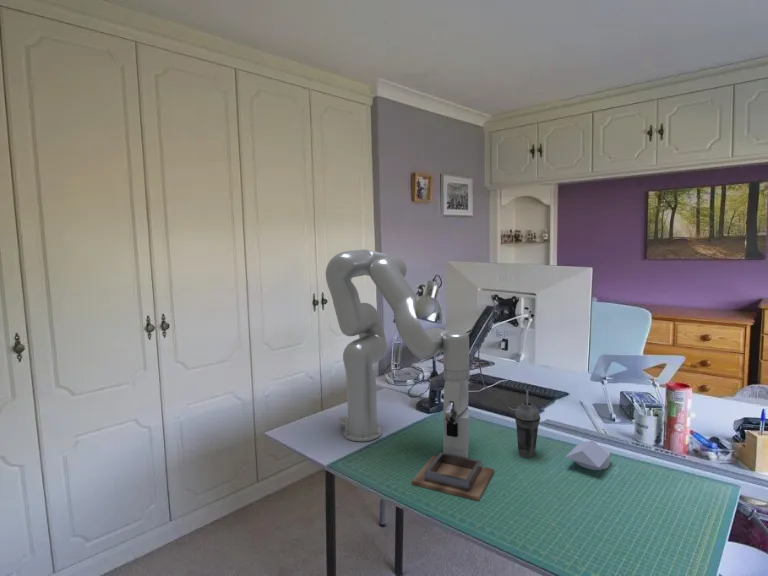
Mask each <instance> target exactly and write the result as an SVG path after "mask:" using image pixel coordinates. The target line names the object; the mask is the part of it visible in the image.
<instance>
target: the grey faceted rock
mask: <svg viewBox="0 0 768 576" xmlns="http://www.w3.org/2000/svg"><path fill="white" fill-rule="evenodd" d="M610 457H611V454H610V451H609V450H608V449H607V448H605V447H604V446H601V445H599V443H597V442H596V441H595V440H594V439H590V440H589V441H586V442H583V443H579V444H576V445H575V446H574V447H573V448H572V450H570V452H569V453H567V454H566V456H565V459H569V460H572V461H574V462H575V463H576V464H577V465H579V466H580V467H583V468H585V469H588V470H593V471H603V470H602V469H604V470H606V468H607V469H608V468H609V467H610V460H611V459H610ZM608 466H609V467H608Z"/></svg>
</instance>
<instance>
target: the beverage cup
mask: <svg viewBox="0 0 768 576" xmlns="http://www.w3.org/2000/svg"><path fill="white" fill-rule="evenodd" d="M525 392H526V397H525V398H526V399H525V401H526V402H523V403H520V404H519V405H518V406H517V407H516V408H515V412H514V418H515V419H514V420H515V424H516V437H517V450H518V455H519V456H520V457H523V458H527V459H528V458H529V459H530V458H534V457H535V454H536V447H537V439H538V438H537V437H538V431H539V426H540V420H541V416H540V415H541V414H540V411H539V409H538V408H537V406H536V405H535V404H533V403H531V402H529V389H526V391H525Z"/></svg>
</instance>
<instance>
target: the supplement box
mask: <svg viewBox="0 0 768 576" xmlns="http://www.w3.org/2000/svg"><path fill="white" fill-rule="evenodd" d="M452 412H454V411H452ZM454 413H456V412H454ZM451 417H453V419H454V417H455V416H453V415H452V416H451ZM456 423H458V436H457V437H452V436H447V424H446V415H445V413H444V412H443V423H442V426H443V428H442V429H443V431H442V435H443V437H442V438H443V439H442V440H443V441H442V442H443V445H442V447H443V450H442V451H443V453H447V454H452V455H457V456H462V457H466V458H469V442H470V441H469V440H470V439H469V437H470V433H469V432H470V428H469V427H470V410H469V408H468V409H465V410H464V411H463V412H462V413H461V414H460V415H458V417H457V422H456Z"/></svg>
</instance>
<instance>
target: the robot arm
mask: <svg viewBox="0 0 768 576" xmlns="http://www.w3.org/2000/svg"><path fill="white" fill-rule="evenodd" d="M407 272H408V271H407V266H406V263H405V262H404V260H403V259H402V258H401V257H399V256H397V255H394V254H393V255H392V254H388V253H384V252H379V251H375V250H369V249H357V250H355V249H354V250H345V251H341V252H339V253H337V254H335V255H334V256H333V257H332V258H331V259H330V260H329V262H328V263H327V266H326V269H325V281H326V283H327V287H328V290H329V293H330V296H331V299H332V303H333V308H334V311H335V316H336V318H337V323H338V326H339V329H340V331H341V333H342V334H343V335H344V336H347V337H355V336H358V337H359V338H356V339H355V340H353V341H351V342H349V343H348V344H347V345H346V347H345V348H344V349H343V353H342V361H343V366H344V371H345V378H346V397H347V398H346V399H347V402H346V403H347V416H343V415H342V416H341V415H340V417H339V419H338V420H339V421H338V425H340V426H344V429H343V436H344V438H346V439H347V440H349V441H353V442H360V443H361V442H368V441H374V440H376V439H379V437H381V435H382V434H383V429H382V427H381V426H380V425H378V412H377V411H378V410H377V409H378V407H377V406H378V405H377V402H378V400H377V377H376V375H375V371H374V369H373V368H374V367H373V365H374V364H376V363H377V362H379V361H381V360H382V359H384V357H386V355H387V351H388V345H387V340H386V336H385V331H384V328H383V324H382V319H381V316H380V314H379V312H378V310H377V309H376V307H374V305H372V304H371V303H368V302H361V299H360V297H359V292H358V290H357V289H358V288H357V287H356V286H355V284H354V282H353V281H352V279H353V278H356V277H357V278H358V277H362V276H368V277H370V279H371V281H372V282H373V283H374V285H375V287H376V288H377V290H378V291H379V292H380V294H381V295H382V296H383V298H384V300H385V301H386V302H387V305H389V307H390V308H391V310H392V312H393V318H394V322H395V326H396V329H397V332H398V334H399V337H400V338H401V339H402V341H403V342H404V344H405V346H406V347H407V348H408V350H409V351H410V352H411V354H412V355H413V356H414V357H416V358H417V359H419V360H429V359H432V358H433V357H434V356H436V355H438V354H440V353H443V354H442V356H443V357H442V358H443V361H442V362H443V363H442V364H443V380H444V384H443V385H444V386H443V404H442V405H443V407H442V408H443V410H442V411H443V414H444V413H445V415H446V424H447V436H452V437H457V436H458V423H456V422H457V417H458V415H460V414H461V413H462V412H463V411H464V410H465V409H469V399H470V398H469V380H470V377H471V376H470V375H471V372H470V371H471V370H470V366H471V365H470V336H469V334H468V333H467V332H466V331H463V330H448V329H444V328H439V327H431V328H428V329H426V330H425V329H424V327H423V326H422V325H421V322H420V321H419V318H418V316H417V312H416V302H417V294H416V292H415V291H414V289H413V288H412V287H411V286H410V284H409V283H408V281H407V280H406V278H405V277H406V275H407ZM452 411H454V412H456V413H454V412H452ZM452 415H453V416H455V417H454V419H453V417H451V416H452Z"/></svg>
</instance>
